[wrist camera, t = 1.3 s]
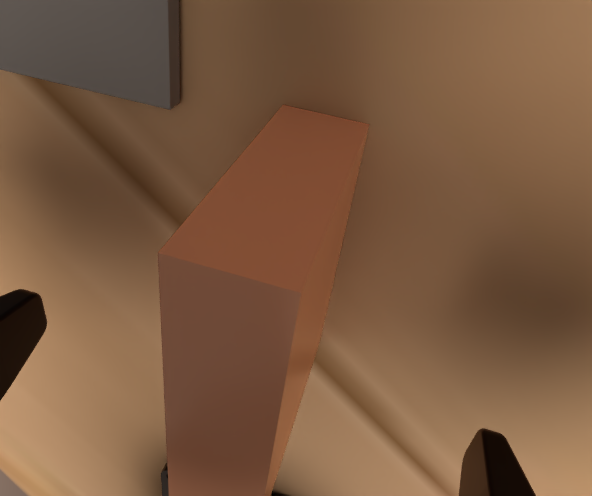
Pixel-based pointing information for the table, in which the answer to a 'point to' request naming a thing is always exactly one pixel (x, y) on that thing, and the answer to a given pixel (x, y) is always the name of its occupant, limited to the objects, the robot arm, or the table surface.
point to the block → (252, 301)
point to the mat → (96, 46)
